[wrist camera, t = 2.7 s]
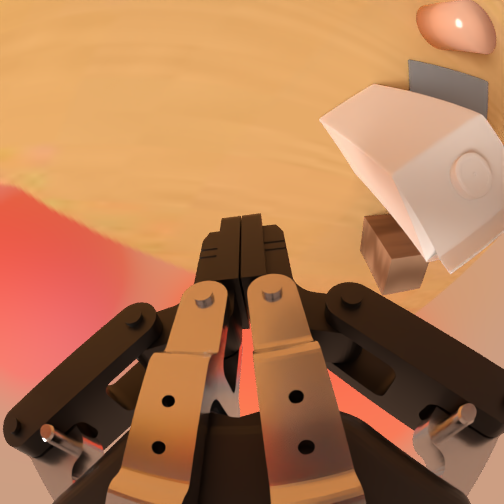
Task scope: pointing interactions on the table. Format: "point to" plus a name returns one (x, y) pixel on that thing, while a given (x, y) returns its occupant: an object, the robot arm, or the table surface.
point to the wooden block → (391, 255)
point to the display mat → (449, 86)
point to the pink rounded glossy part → (457, 26)
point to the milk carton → (426, 168)
